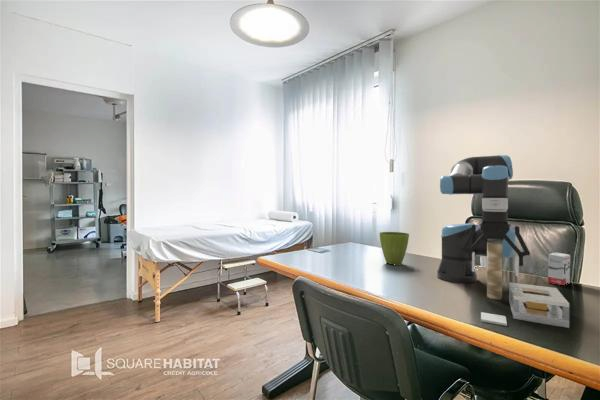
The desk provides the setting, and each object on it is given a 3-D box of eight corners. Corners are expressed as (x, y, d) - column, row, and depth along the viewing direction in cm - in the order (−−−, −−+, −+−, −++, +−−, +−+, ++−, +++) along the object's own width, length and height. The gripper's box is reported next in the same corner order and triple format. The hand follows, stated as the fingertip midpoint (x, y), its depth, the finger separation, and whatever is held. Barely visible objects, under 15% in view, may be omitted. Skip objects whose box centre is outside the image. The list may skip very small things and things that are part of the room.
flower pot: (388, 259, 167) (388, 231, 167) (414, 263, 156) (414, 233, 156) (373, 263, 157) (373, 233, 157) (400, 268, 146) (400, 235, 146)
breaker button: (527, 307, 88) (527, 299, 88) (525, 302, 92) (525, 295, 92) (547, 310, 86) (547, 302, 86) (544, 305, 90) (544, 297, 90)
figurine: (469, 267, 148) (469, 243, 148) (478, 265, 152) (478, 242, 152) (488, 271, 140) (488, 246, 140) (497, 269, 145) (497, 244, 145)
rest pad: (480, 321, 84) (480, 319, 84) (480, 314, 89) (480, 312, 89) (507, 325, 80) (507, 323, 80) (505, 318, 86) (505, 316, 86)
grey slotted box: (513, 318, 85) (513, 295, 85) (509, 301, 99) (509, 282, 99) (569, 328, 79) (569, 303, 79) (556, 308, 93) (556, 287, 93)
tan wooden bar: (487, 298, 103) (487, 240, 103) (486, 294, 107) (487, 238, 107) (502, 300, 101) (502, 240, 101) (501, 296, 104) (501, 239, 104)
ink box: (563, 286, 116) (563, 256, 116) (547, 283, 121) (547, 254, 121) (570, 283, 121) (570, 253, 121) (555, 280, 125) (555, 252, 125)
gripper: (454, 210, 107) (454, 270, 107) (541, 211, 94) (540, 280, 94) (456, 209, 113) (455, 266, 113) (537, 211, 100) (537, 275, 101)
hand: (494, 273), depth 104 cm, fingers open, 12 cm apart
